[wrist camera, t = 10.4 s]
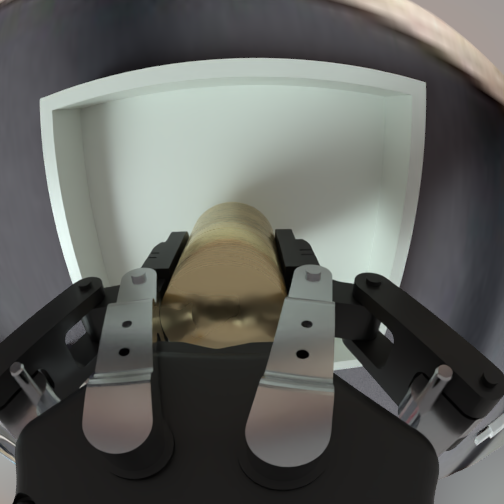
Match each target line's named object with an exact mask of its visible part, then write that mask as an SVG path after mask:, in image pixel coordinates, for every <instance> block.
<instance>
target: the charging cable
mask: <svg viewBox="0 0 504 504" xmlns="http://www.w3.org/2000/svg"><path fill="white" fill-rule="evenodd" d="M503 428H504V413H503V414H501V415H500V416H499V417H498V418H496V419H495V420H494V421H492V422H491V423H490V424H489V425H488V426H487V428H486V430H485V431H484V432H483V433H481V434H480V435H479V436H477V437H476V439H475V443H476V445H478V444H480V443H481V442H482V441H484V440H485V439H486V438H488V437H490V438H492V437H493V436H494V435H496V434H497V433H498V432H499V431H501V430H502V429H503Z"/></svg>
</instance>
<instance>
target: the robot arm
mask: <svg viewBox="0 0 504 504" xmlns="http://www.w3.org/2000/svg"><path fill="white" fill-rule="evenodd" d="M188 239H189V234H188V232H187V231H180V232H171V234H170V235H169V237H168V239H167V240H166V242H161V243H159V244H158V245H156V246H155V247H154V248H153V249H152V251H151V252H150V254H149V256H148V258H147V259H146V260H145V262H144V263H143V265H142V267H141V268H137V269H134V270H131V271H129V272H127V273H126V274H125V275H124V276H123V277H122V279H121V283H120V285H117V286H111V287H106V288H104V286H103V283H102V280H101V279H100V278H98V277H87V278H83V279H81V280H79V281H77V282H75V283H74V284H73V285H71V286H70V287H69V288H67V289H66V290H65V291H63V292H62V293H61V294H60V295H58V296H57V297H56V298H54V299H53V300H52V301H51V302H49V303H48V304H47V305H45V306H44V307H43V308H42V309H40V310H39V311H38V312H37V313H35V314H34V315H33V316H32V317H31V318H29V319H28V320H27V321H26V322H25V323H23V324H22V325H21V326H20V327H19V328H17V329H16V330H15V331H14V332H13V333H12V334H10V335H9V336H8V337H7V338H6V339H5V340H4V341H2V342H1V343H0V424H1V425H2V426H3V427H4V428H5V429H7V430H8V431H9V432H10V433H11V434H12V436H13V437H14V438H15V439H16V440H17V442H16V447H15V461H16V474H17V485H16V496H15V499H14V502H13V504H434V495H435V490H436V485H437V481H438V475H439V462H438V457H439V456H440V455H441V454H443V453H444V452H445V451H449V450H452V449H453V448H455V447H456V446H457V445H458V444H459V443H460V442H461V441H462V440H463V439H464V438H466V437H467V436H468V435H469V434H470V433H471V432H472V431H473V429H474V428H475V427H476V426H477V425H478V424H479V423H480V422H481V421H482V420H483V419H484V418H485V417H486V416H487V414H488V413H489V412H490V411H491V410H492V409H493V408H494V406H495V405H496V404H497V403H498V402H499V400H500V399H501V398H502V397H503V395H504V374H503V373H502V372H501V370H500V369H499V368H497V367H496V366H495V365H494V364H493V363H492V362H491V361H490V360H488V359H487V358H486V357H485V356H484V355H483V354H482V353H480V352H479V351H478V350H477V349H476V348H475V347H473V346H472V345H471V344H470V343H469V342H467V341H466V340H465V339H464V338H463V337H461V336H460V335H459V334H458V333H457V332H455V331H454V330H453V329H452V328H451V327H449V326H448V325H447V324H446V323H444V322H443V321H442V320H441V319H439V318H438V317H437V316H436V315H434V314H433V313H432V312H431V311H429V310H428V309H427V308H425V307H424V306H423V305H422V304H420V303H419V302H418V301H416V300H415V299H414V298H412V297H411V296H410V295H408V294H407V293H406V292H405V291H403V290H402V289H401V288H399V287H398V286H397V285H395V284H394V283H392V282H391V281H390V280H388V279H387V278H386V277H384V276H382V275H379V274H376V273H370V272H366V273H361V274H358V275H357V276H356V277H355V280H354V284H353V283H346V282H340V281H336V280H333V279H332V273H331V272H330V270H328V269H327V268H325V267H322V266H320V264H319V262H318V260H317V258H316V256H315V254H314V251H313V250H312V247H311V245H310V244H309V243H308V242H307V241H305V240H304V239H295V237H294V234H293V232H292V229H275V241H276V245H277V250H278V254H279V259H280V263H281V267H282V272H283V276H284V281H285V285H286V290H287V294H288V297H285V300H284V304H283V308H282V312H281V315H280V319H279V323H278V327H277V330H276V334H275V338H274V341H273V342H251V343H246V344H241V345H236V346H230V347H225V348H219V349H213V348H208V347H203V346H199V345H194V344H190V343H185V342H170V341H169V339H168V338H167V336H166V334H165V332H164V331H163V328H162V325H161V320H160V307H161V303H162V300H163V297H164V295H165V292H166V290H167V287H168V285H169V282H170V280H171V278H172V275H173V273H174V271H175V268H176V266H177V264H178V261H179V259H180V257H181V254H182V252H183V250H184V248H185V245H186V243H187V241H188ZM80 320H82V323H83V325H84V327H85V330H86V333H85V334H84V335H83V336H82V337H81V338H80V339H79V340H78V341H77V342H76V343H75V344H74V345H73V346H72V347H71V348H70V349H68V347H67V345H66V343H65V336H66V333H67V332H68V331H69V330H70V329H71V328H72V327H73V326H74V325H75V324H76V323H77V322H79V321H80ZM381 322H382V323H383V324H384V325H385V326H386V327H387V328H388V329H389V330H390V331H391V332H392V334H393V337H394V344H393V343H392V342H391V341H390V340H389V339H388V338H387V337H385V336H384V335H383V334H382V333H381V332H380V331H379V328H380V325H381ZM335 338H342V342H343V344H344V345H345V346H346V347H347V348H348V350H349V351H350V352H351V353H352V354H353V355H354V356H355V357H356V359H357V360H358V361H359V362H360V363H361V364H362V365H363V367H364V368H365V369H366V370H367V371H368V372H369V373H370V375H371V376H372V377H373V378H374V379H375V380H376V381H377V383H378V384H379V385H380V386H381V387H382V388H383V389H384V391H385V392H386V393H387V394H388V395H389V396H390V397H391V399H392V400H393V401H394V402H395V403H396V404H397V405H398V415H399V418H398V417H397V416H395V415H394V414H392V413H391V412H389V411H388V410H386V409H385V408H383V407H382V406H380V405H379V404H377V403H376V402H374V401H373V400H371V399H370V398H368V397H367V396H366V395H364V394H363V393H361V392H360V391H358V390H357V389H356V388H354V387H353V386H351V385H350V384H348V383H347V382H346V381H344V380H343V379H341V378H340V377H339V376H337V375H336V374H335V373H333V367H334V341H335ZM94 371H95V374H94V377H93V378H90V379H89V381H88V383H86V384H85V385H84V386H82V384H83V383H84V382H85V381H86V380H87V379H88V378H89V377H90V376H91V374H92V373H93V372H94ZM81 386H82V387H81ZM80 387H81V388H80Z"/></svg>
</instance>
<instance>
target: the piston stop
mask: <svg viewBox="0 0 504 504" xmlns="http://www.w3.org/2000/svg"><path fill="white" fill-rule="evenodd" d="M285 297H288V294H287V290H286V285H285V281H284V276H283V272H282V267H281V263H280V259H279V254H278V250H277V245H276V241H275V237H274V233H273V229H272V226H271V225H270V223H269V221H268V220H267V218H266V217H265V216H264V215H263V214H262V213H261V212H260V211H259V210H257V209H256V208H254V207H252V206H250V205H247V204H244V203H239V202H225V203H221V204H218V205H215V206H213V207H211V208H209V209H208V210H206V211H205V212H204V213H203V214H202V215H201V216H200V217H199V219H198V220H197V222H196V223H195V225H194V228H193V230H192V232H191V234H190V236H189V239H188V241H187V243H186V245H185V248H184V250H183V252H182V254H181V257H180V259H179V261H178V264H177V266H176V268H175V271H174V273H173V275H172V278H171V280H170V282H169V285H168V287H167V290H166V292H165V295H164V297H163V300H162V303H161V307H160V320H161V325H162V328H163V331H164V332H165V334H166V336H167V338H168V339H169V341H170V342H185V343H190V344H194V345H199V346H203V347H208V348H213V349H219V348H225V347H230V346H236V345H241V344H246V343H251V342H273V341H274V338H275V334H276V330H277V327H278V323H279V319H280V315H281V312H282V308H283V304H284V300H285Z"/></svg>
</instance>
